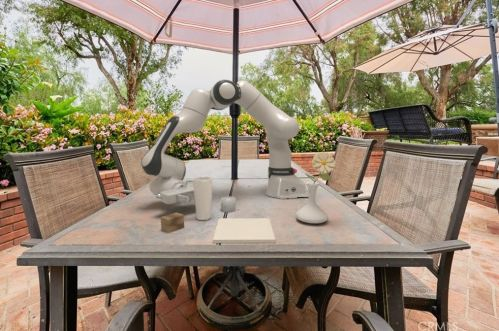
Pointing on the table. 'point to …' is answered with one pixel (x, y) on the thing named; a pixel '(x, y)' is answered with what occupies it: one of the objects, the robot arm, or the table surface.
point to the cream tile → (244, 230)
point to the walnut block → (172, 222)
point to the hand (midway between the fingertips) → (199, 196)
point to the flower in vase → (312, 210)
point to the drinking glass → (203, 197)
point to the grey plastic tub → (228, 204)
